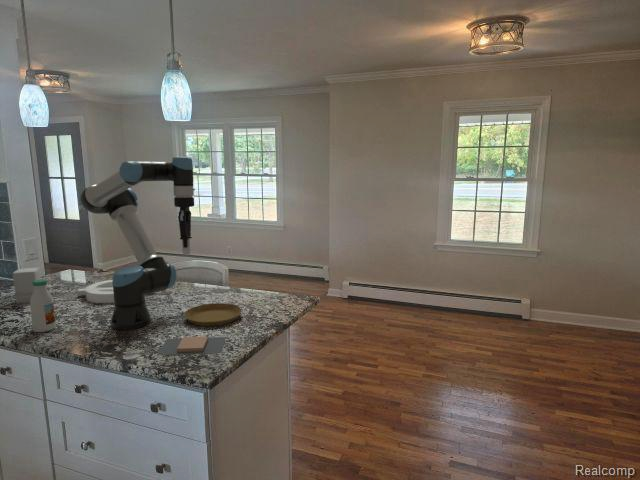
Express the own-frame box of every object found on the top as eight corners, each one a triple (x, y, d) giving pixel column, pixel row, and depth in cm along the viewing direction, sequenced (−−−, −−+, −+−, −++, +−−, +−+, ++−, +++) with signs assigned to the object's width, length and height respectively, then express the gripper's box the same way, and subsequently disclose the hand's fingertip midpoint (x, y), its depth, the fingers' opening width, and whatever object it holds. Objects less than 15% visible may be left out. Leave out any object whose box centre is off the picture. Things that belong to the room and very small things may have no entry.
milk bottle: (38, 334, 160) (33, 284, 156) (29, 330, 164) (23, 281, 160) (59, 328, 166) (55, 279, 163) (50, 324, 170) (45, 277, 167)
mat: (156, 356, 143) (156, 355, 142) (167, 339, 156) (167, 338, 156) (221, 354, 145) (221, 353, 145) (226, 338, 158) (226, 337, 158)
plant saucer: (198, 308, 192) (197, 301, 192) (248, 310, 190) (248, 303, 189) (174, 327, 169) (174, 320, 168) (231, 331, 166) (231, 323, 166)
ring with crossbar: (158, 292, 215) (158, 284, 215) (106, 307, 192) (105, 297, 191) (126, 284, 230) (125, 276, 229) (74, 297, 207) (73, 287, 206)
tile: (183, 340, 155) (177, 352, 145) (183, 337, 154) (176, 348, 145) (207, 339, 156) (203, 351, 146) (207, 336, 155) (203, 347, 146)
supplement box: (43, 296, 206) (40, 267, 203) (37, 301, 198) (34, 271, 195) (22, 297, 203) (19, 268, 201) (15, 303, 195) (12, 272, 192)
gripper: (190, 197, 157) (192, 258, 161) (196, 195, 170) (199, 251, 174) (170, 197, 157) (173, 258, 161) (178, 195, 169) (180, 251, 173)
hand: (186, 254), depth 167 cm, fingers closed
